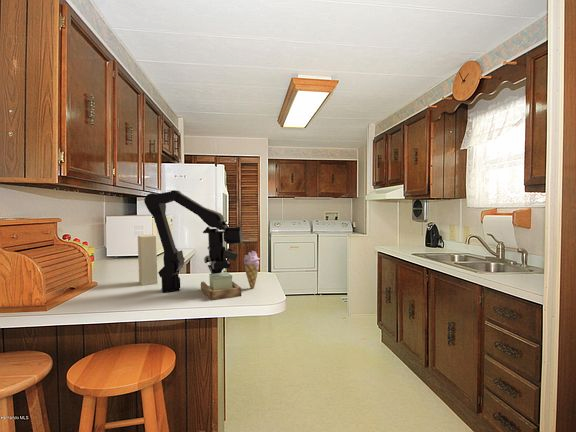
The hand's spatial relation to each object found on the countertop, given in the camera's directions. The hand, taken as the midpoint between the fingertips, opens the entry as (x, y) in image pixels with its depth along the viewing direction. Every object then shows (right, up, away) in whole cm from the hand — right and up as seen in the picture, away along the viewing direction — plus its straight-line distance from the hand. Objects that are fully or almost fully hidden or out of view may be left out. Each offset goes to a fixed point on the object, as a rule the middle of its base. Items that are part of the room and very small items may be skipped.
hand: (217, 283), depth 139 cm
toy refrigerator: (-33, -3, +15) cm, 37 cm away
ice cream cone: (+14, -2, 0) cm, 14 cm away
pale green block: (+3, -2, -6) cm, 6 cm away
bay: (+2, -3, -4) cm, 6 cm away
